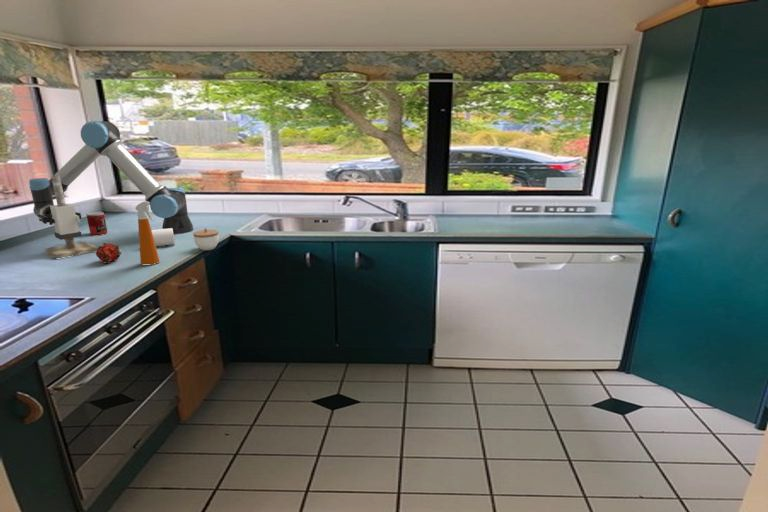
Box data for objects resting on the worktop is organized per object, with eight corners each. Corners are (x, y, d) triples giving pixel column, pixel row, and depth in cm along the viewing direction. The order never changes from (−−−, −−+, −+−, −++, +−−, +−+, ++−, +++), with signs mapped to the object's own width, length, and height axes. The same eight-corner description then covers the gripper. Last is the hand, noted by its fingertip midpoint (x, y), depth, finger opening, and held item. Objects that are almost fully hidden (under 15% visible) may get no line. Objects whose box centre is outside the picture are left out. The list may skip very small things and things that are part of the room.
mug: (175, 246, 211) (172, 230, 208) (151, 249, 207) (148, 232, 204) (174, 240, 221) (172, 224, 219) (151, 243, 217) (149, 227, 215)
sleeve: (73, 229, 204) (68, 203, 201) (79, 232, 200) (73, 205, 197) (55, 232, 199) (49, 205, 196) (60, 235, 195) (54, 207, 191)
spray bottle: (152, 268, 179) (141, 203, 172) (137, 264, 185) (126, 200, 177) (168, 263, 185) (159, 200, 177) (153, 259, 191) (143, 198, 183)
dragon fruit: (115, 260, 195) (111, 272, 185) (94, 251, 191) (89, 263, 181) (125, 244, 194) (121, 256, 184) (104, 235, 189) (99, 246, 179)
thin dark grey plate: (75, 233, 206) (74, 229, 205) (81, 236, 201) (80, 231, 200) (55, 236, 200) (54, 232, 199) (61, 239, 195) (60, 235, 194)
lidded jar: (196, 253, 200) (194, 232, 197) (194, 247, 209) (191, 227, 206) (221, 249, 205) (219, 229, 202) (218, 244, 214) (216, 225, 211)
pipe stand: (85, 245, 213) (70, 173, 203) (98, 251, 203) (83, 175, 193) (45, 252, 201) (27, 176, 191) (56, 259, 191) (38, 179, 182)
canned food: (99, 236, 230) (95, 215, 227) (86, 235, 232) (82, 214, 229) (111, 232, 238) (107, 212, 234) (98, 231, 239) (94, 211, 236)
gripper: (77, 218, 217) (95, 225, 203) (27, 225, 203) (43, 233, 189) (74, 203, 215) (92, 208, 201) (23, 209, 200) (39, 215, 186)
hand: (68, 220), depth 195 cm, fingers closed on sleeve, 7 cm apart
